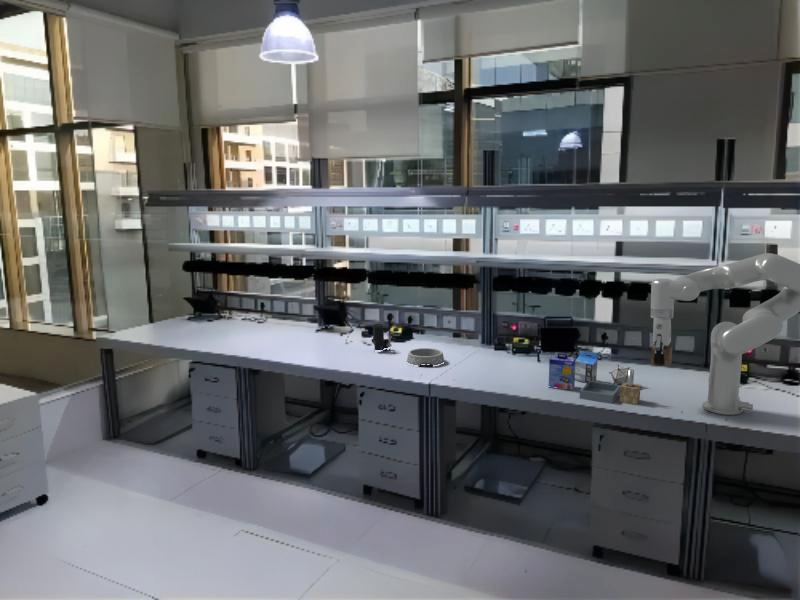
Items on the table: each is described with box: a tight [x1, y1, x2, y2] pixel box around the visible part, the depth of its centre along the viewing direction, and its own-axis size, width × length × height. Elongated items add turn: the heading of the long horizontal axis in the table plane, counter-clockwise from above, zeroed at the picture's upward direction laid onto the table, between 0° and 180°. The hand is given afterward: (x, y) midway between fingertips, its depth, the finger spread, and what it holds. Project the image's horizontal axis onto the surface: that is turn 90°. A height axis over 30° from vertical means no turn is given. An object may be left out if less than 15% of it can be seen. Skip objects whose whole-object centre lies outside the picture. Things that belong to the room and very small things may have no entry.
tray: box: [579, 381, 621, 404], centre depth 224 cm, size 12×14×3 cm
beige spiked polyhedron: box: [608, 364, 631, 386], centre depth 237 cm, size 9×8×10 cm
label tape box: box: [575, 350, 599, 384], centre depth 242 cm, size 9×4×12 cm, turn 40°
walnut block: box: [650, 344, 673, 367], centre depth 211 cm, size 6×6×6 cm
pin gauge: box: [627, 368, 635, 387], centre depth 217 cm, size 2×2×12 cm
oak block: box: [619, 383, 641, 406], centre depth 217 cm, size 6×6×6 cm
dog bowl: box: [406, 347, 445, 367], centre depth 275 cm, size 17×18×5 cm
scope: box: [371, 323, 392, 351], centre depth 297 cm, size 8×14×10 cm
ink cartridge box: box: [548, 353, 577, 391], centre depth 234 cm, size 10×6×14 cm, turn 67°
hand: (660, 361), depth 211 cm, fingers closed on walnut block, 6 cm apart
